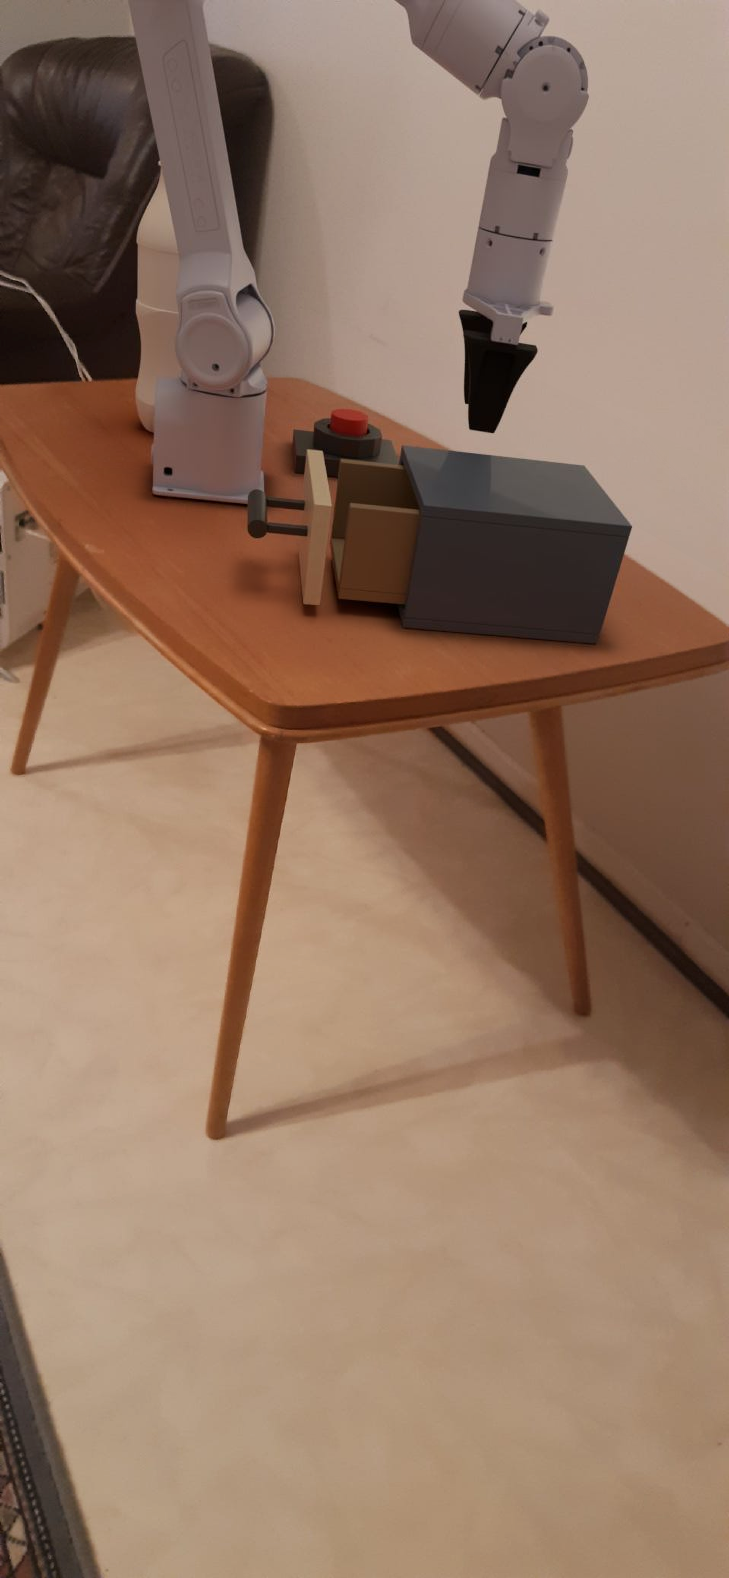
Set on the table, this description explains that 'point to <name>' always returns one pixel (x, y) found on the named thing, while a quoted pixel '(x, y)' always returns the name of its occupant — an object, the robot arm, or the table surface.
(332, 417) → the button
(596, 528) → the cabinet
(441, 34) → the robot arm
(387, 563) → the drawer
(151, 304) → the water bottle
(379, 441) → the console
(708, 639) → the table surface
